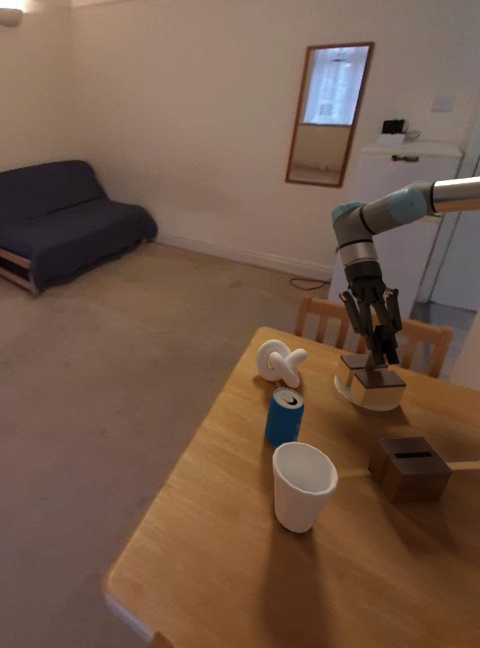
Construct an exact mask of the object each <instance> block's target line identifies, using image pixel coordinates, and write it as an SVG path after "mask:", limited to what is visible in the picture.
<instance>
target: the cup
mask: <svg viewBox="0 0 480 648" xmlns="http://www.w3.org/2000/svg"><path fill="white" fill-rule="evenodd" d="M275 448H276V447H275ZM272 472H273V476H274V479H273V480H274V514H275V516H276V518H277V521H278V522H279V523H280V524H281V525H282V526H283V527H284V528H285V529H287V530H289V531H290V532H293V533H298V534H301V533H305V532H307V531H309V530H310V529H311V528H312V526H313V525H314V524H315V522H316V520H317V519H318V517H319V515H320V513H322V510H323V509H324V508H325V506H326V504H327V502H328V501H329V500H330V498H331V497H332V496H333V495H334V493H335V491H336V489H337V487H338V482H339V475H338V471H337V467H335V465H334V463H333V462H332V460H331V459H330V457H329V456H328V455H326V454H324V452H322V451H321V450H320V449H319V448H317V447H314V446H312V445H311V444H308V443H306V442H300V441H299V442H298V441H297V442H289V443H284V444H282V445H281V446H279V447H278V448H276V449H275V450H274V453H273V455H272Z"/></svg>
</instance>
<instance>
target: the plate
mask: <svg viewBox="0 0 480 648" xmlns="http://www.w3.org/2000/svg"><path fill="white" fill-rule="evenodd" d="M333 382H334V386H335V388H336V390H337V391H338V393H339V394H341V395H342V397H344V398H345V399H346V400H347V401H349V402H351V403H352V404H353V405H354V404H355V405H356V406H359V407H360V408H361V407H362V408H364V409H367V410H372V411H380V412H386V411H391V410H394V409H395V408H397V407H398V406H399V405H400V404H390V405H373V406H360V405H359V404H358V402H357V401H356V400H355V399H354V397H353V396H352V395H351V393H350V392H349V391H350V388H351V386H350V387H345V385H344V384H343V383H342V381H341V380H340V379H339V377H338V376H337V375H336V374H335V375H334V377H333Z"/></svg>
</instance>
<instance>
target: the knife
mask: <svg viewBox="0 0 480 648" xmlns="http://www.w3.org/2000/svg"><path fill="white" fill-rule="evenodd" d="M373 330H374V334H373V335H378V337H379V341H380V344H381V348H382V352H383V356H384V355H386V350H387V347H388V344H389V341H390V338H391V335H392V332H393V331H392V330H391V329H390V328H389V327H388V326H387V325H380V324H376V325H375V327H374V329H373ZM367 354H368V357H367V361H366V364H365V367H364V371H363V372H372V371H379V368H380V365H377V366H375V364H374V360H373V356H372V352H368V353H367Z"/></svg>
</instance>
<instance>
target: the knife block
mask: <svg viewBox="0 0 480 648" xmlns="http://www.w3.org/2000/svg"><path fill="white" fill-rule="evenodd" d="M366 468H367V470H368V471H369V474H371V476H372V477H373V479H374V480H375V482H376V484H377V485H378V487H379V488H380V490H381V492H382V493H383V494H384V496H385V497H386V499H387V501H388V502H389V504H390V505H401V504H414V503H416V504H417V503H418V504H419V503H429V502H430V503H432V502H440V501H441V498H442V496H443V494H444V493H445V489H446V488H447V486H448V484H449V482H450V480H451V478H452V476H453V473H454V471H453V470H452V468H451V467H449V465H448V464H447V463H446V462H445V460H444V459H443V458H442V457H441V456H440V455H439V453H438V452H437V451H436V450H435V449H434V448H433V447H432V445H431V444H430V443H429V442H428V441H427V439H425V437H424V436H411V437H394V438H378V439H376V440H375V443H374V446H373V449H372V452H371V455H370V458H369V460H368V464H367V466H366Z"/></svg>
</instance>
